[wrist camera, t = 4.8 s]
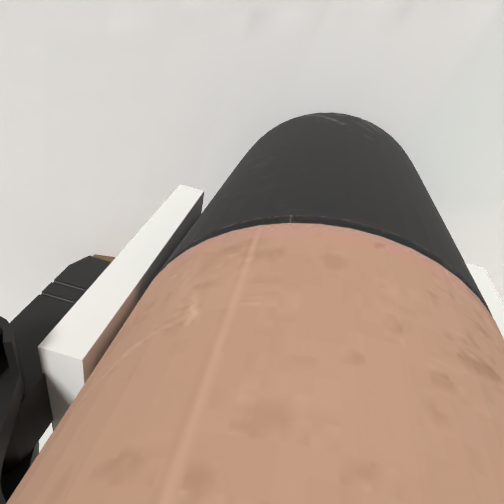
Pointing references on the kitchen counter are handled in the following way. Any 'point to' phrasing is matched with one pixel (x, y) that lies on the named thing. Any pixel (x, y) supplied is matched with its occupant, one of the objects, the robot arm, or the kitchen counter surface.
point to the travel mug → (296, 348)
